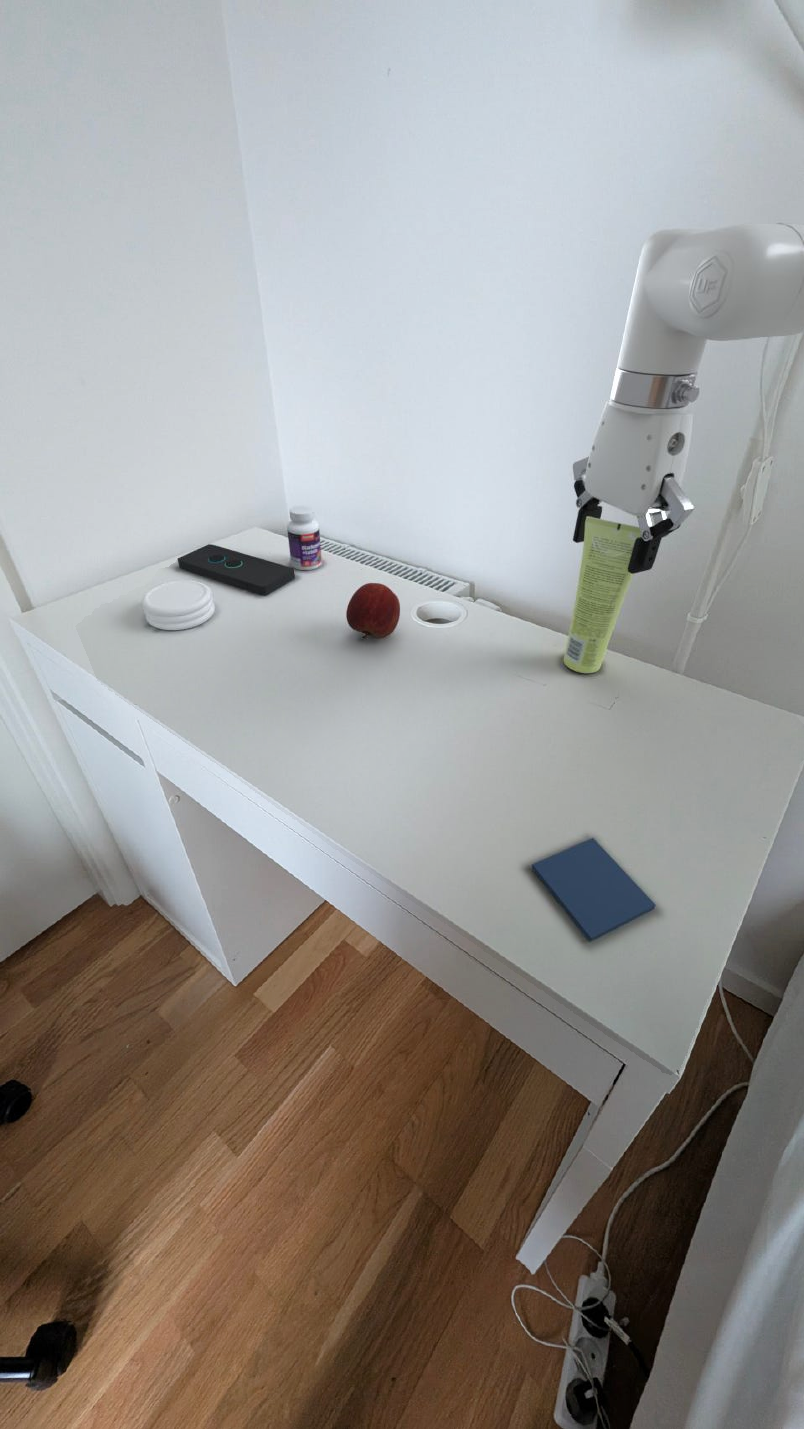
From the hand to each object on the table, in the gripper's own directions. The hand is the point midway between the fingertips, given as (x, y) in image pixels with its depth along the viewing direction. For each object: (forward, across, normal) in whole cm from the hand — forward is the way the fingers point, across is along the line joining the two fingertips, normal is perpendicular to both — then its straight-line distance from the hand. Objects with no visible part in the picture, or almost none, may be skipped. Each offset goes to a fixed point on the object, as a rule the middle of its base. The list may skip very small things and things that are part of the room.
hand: (610, 554), depth 68 cm
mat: (+16, -28, +22) cm, 39 cm away
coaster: (+16, +37, +46) cm, 62 cm away
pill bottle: (+16, +46, +24) cm, 54 cm away
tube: (+16, 0, 0) cm, 16 cm away
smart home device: (+16, +48, +36) cm, 62 cm away
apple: (+16, +19, +22) cm, 33 cm away
